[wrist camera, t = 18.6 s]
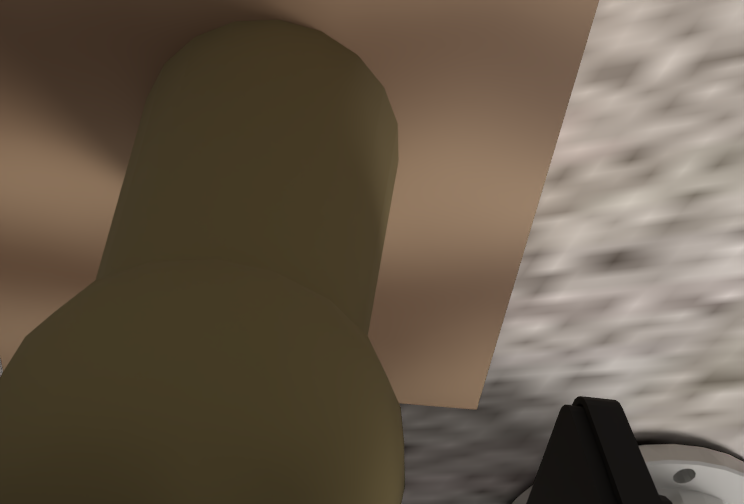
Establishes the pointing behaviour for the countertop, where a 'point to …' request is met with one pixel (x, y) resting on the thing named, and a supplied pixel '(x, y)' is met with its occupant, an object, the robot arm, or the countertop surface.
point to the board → (414, 172)
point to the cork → (226, 297)
